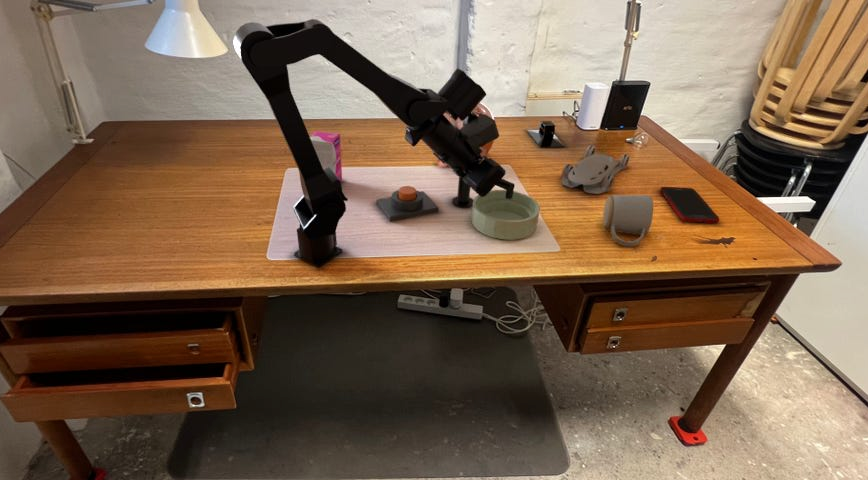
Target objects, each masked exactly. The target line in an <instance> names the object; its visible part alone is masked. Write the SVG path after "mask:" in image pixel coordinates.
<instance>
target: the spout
mask: <svg viewBox="0 0 868 480" xmlns="http://www.w3.org/2000/svg"><path fill="white" fill-rule="evenodd" d="M495 187H499V188H501V189H502V190H506V196H505V197H506V198H507V199H512V198H513V191H515V190H514V189H515V187H516V184H515V183H513V182H511V181H509V180H506V179H505V178H502V179H501V180H500V181H499V182H498V183H497V184H496V185H495Z"/></svg>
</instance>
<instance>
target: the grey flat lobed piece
mask: <svg viewBox="0 0 868 480" xmlns="http://www.w3.org/2000/svg"><path fill="white" fill-rule="evenodd" d="M629 161H630V155H629V154H628V153H623V154H622V155H621V157H620V159H619V160H617V159H616V158H615V157H613V156H611V155H610V154H606V153H596V146H594V145H589V146H587V148H586V150H585V153H584V158H582V159H581V160H580V161H578V162H577V163H576V164H575V165H572V164H570V163H566V164H565V165H564V167H563V168H562V172H561V184H562V185H563V186H564V187H566V188H569V189H572V190H573V189H582V191H584V193H585V194H590V195H601V194H604V193H606V192H607V193H608V192H609V191H610V190H611V188H612V186H613V182H614V178H615V176H616V174H617V173H619V172H620V171H622V170H625V169H626V168H627V166H628V163H629Z"/></svg>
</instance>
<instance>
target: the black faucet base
mask: <svg viewBox="0 0 868 480" xmlns="http://www.w3.org/2000/svg"><path fill="white" fill-rule="evenodd" d="M462 179H463V178H461V177H459V176H458V184H457V185H458V186H457V187H458V188H457V196H455V197H453V198H452V200H451V204H452V205H453V206H454V207H456V208H459V209H470V208H472V206H473V201H474V198H471V197H470V195H471V187H470V186H469V185H467V183H465V182H464V181H463V180H462Z"/></svg>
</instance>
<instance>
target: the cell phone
mask: <svg viewBox="0 0 868 480" xmlns="http://www.w3.org/2000/svg"><path fill="white" fill-rule="evenodd" d="M659 192H660V193H661V194H662V195H663V197H664V198H665V199H666V201H667V202H668V204H669V205H670V206H671V208H672V209H673V210H674V212H675V214H676V215H677V216H678V217H679V218H680V220H681V221H683V222H685V223H707V224H718V223H719V221H720V217H719V215H717V214H716V212H715V211H714V209H712V208H711V206H710V205H709V204H708V203H707V202H706V200H704V199H703V197H701V195H700V194H699V193H698V191H697V190H696V189H694V188H692V187H681V186H680V187H677V186H661V187H660V190H659Z"/></svg>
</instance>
